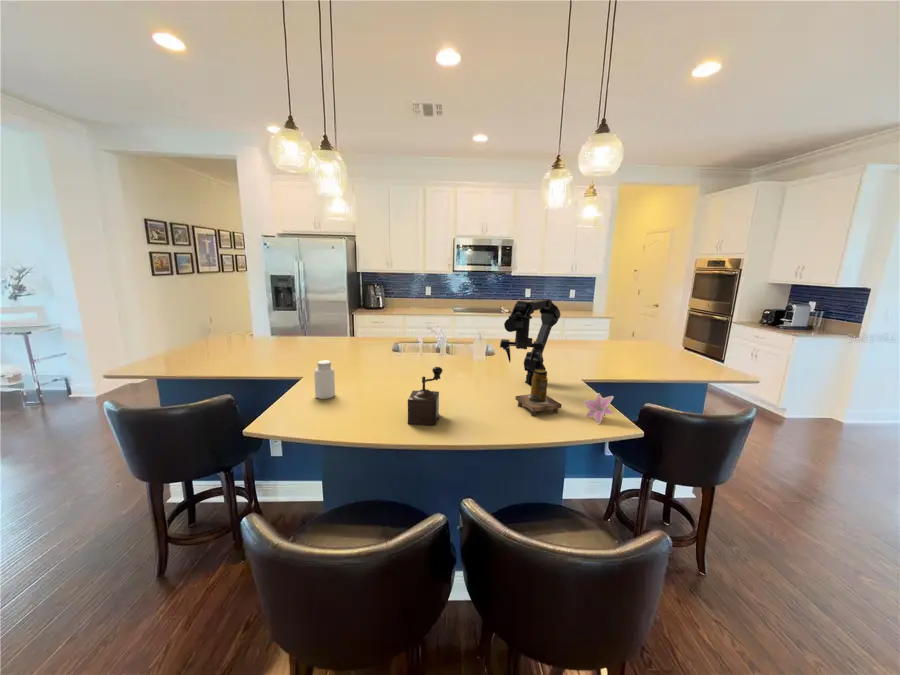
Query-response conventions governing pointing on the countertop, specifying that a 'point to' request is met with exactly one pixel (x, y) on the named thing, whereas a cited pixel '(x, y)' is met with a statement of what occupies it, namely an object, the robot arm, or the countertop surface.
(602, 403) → the lily
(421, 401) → the manual coffee grinder
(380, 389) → the countertop surface
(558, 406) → the stool
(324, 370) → the pill bottle
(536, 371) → the condiment
